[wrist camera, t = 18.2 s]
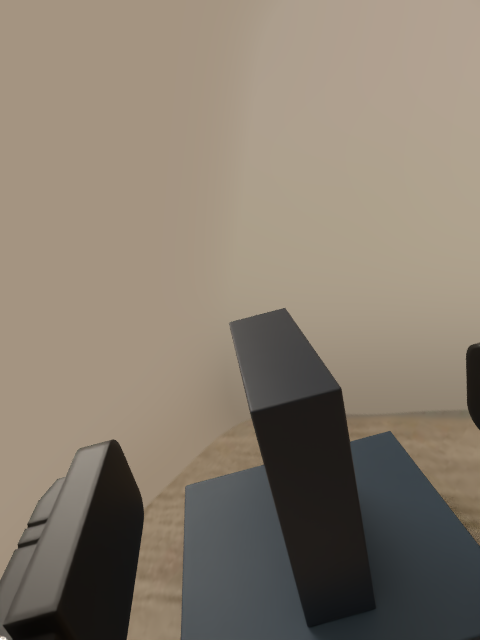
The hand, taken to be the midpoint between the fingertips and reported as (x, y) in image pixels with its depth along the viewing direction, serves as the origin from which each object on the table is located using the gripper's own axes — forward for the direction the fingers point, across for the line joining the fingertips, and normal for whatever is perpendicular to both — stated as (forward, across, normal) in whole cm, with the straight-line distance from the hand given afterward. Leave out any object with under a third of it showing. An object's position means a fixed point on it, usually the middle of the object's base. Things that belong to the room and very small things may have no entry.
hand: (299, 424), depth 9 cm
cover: (+3, 0, +10) cm, 11 cm away
